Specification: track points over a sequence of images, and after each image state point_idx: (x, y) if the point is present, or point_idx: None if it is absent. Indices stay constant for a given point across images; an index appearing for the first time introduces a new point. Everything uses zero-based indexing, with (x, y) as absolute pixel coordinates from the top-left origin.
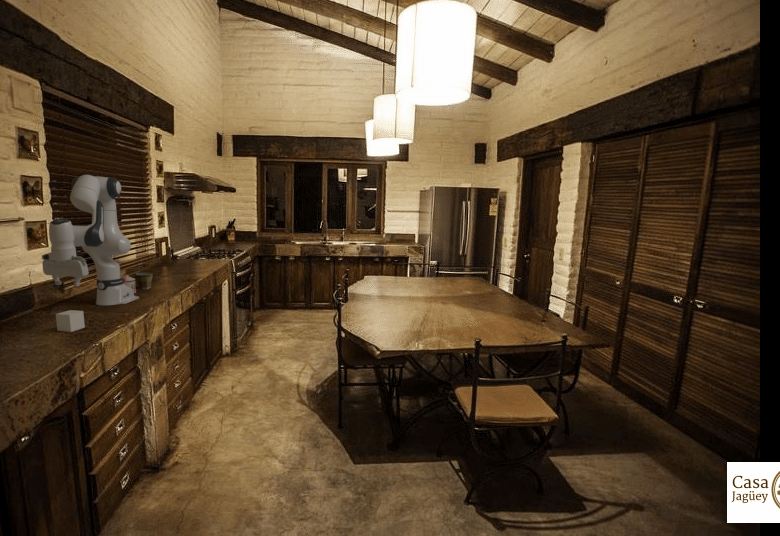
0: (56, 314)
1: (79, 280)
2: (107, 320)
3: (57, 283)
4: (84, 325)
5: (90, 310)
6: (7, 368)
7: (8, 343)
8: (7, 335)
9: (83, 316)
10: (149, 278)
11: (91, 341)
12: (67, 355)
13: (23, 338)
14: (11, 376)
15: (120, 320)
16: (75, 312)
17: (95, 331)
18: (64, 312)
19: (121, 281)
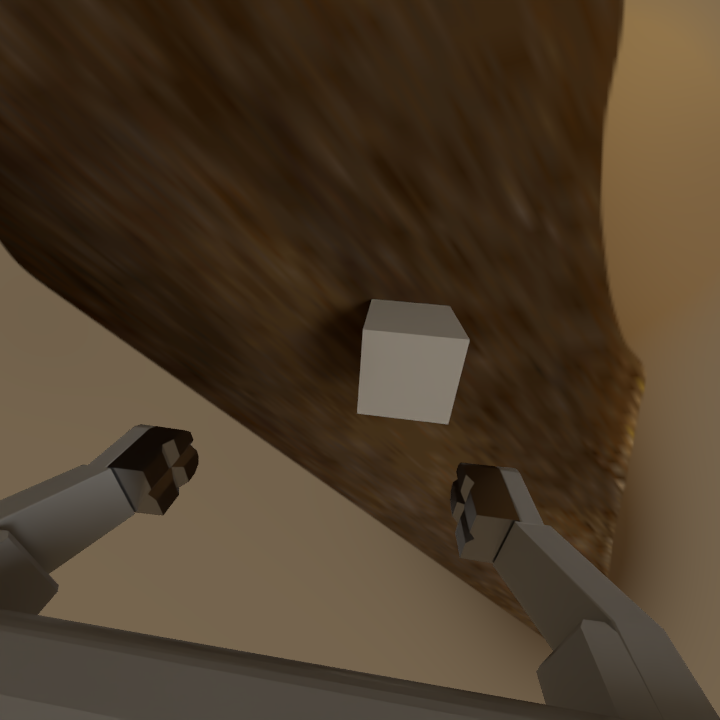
0: (361, 412)
1: (576, 574)
2: (494, 138)
3: (176, 486)
4: (451, 309)
5: None
6: (487, 596)
7: (330, 483)
8: (245, 425)
9: (461, 328)
10: None
11: (595, 463)
12: (582, 551)
13: (327, 447)
14: (529, 621)
15: (592, 116)
16: (442, 375)
17: (544, 357)
18: (376, 382)
19: None
